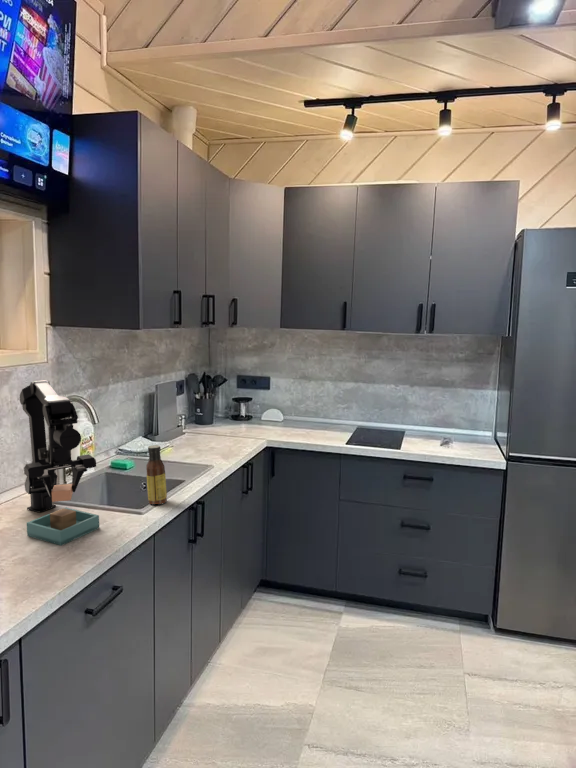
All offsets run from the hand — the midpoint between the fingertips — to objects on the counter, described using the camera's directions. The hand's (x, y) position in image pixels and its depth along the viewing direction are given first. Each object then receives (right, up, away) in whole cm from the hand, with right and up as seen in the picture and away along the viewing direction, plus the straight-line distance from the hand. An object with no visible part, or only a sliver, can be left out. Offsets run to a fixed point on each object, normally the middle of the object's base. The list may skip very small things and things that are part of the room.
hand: (62, 494), depth 158 cm
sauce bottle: (+21, -9, +26) cm, 35 cm away
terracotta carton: (0, -1, 0) cm, 1 cm away
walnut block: (0, -10, +1) cm, 11 cm away
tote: (0, -11, +1) cm, 12 cm away
